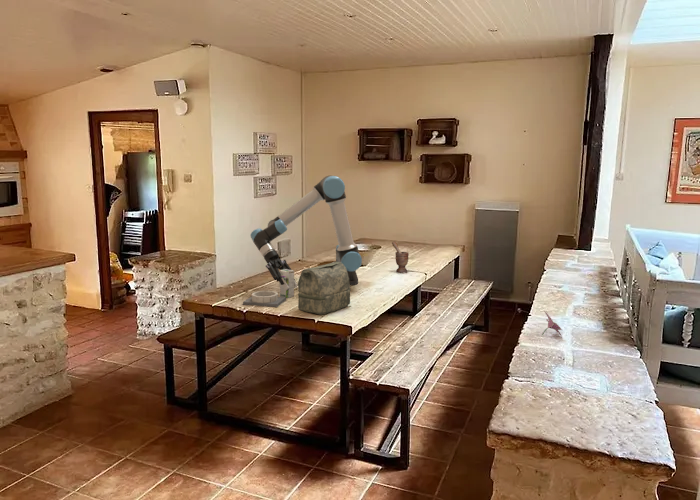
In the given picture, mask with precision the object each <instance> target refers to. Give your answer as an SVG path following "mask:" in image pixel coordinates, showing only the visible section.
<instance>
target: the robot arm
mask: <svg viewBox="0 0 700 500" xmlns="http://www.w3.org/2000/svg"><path fill="white" fill-rule="evenodd" d="M345 189H346V185H345V182H344V181H343V180H342V178H340V177H339V176H336V175H326V176H324V177H323V178H322V179H321V180H320V181H319V182H317V183H316V184H315V185H314V186H313V187H312V190H310V191H309V192H307V193H306V194H305V195H304V196H302V197H301V198H299V200H297V201H296V202H294V203H293V204H292V205H291V206H289V207H288V208H286V209H285V210H284V211H283V212H281V213H280V214H278V215H277V216H276V217H275V218H273V219H270V221H268V223H267V227H266V228H261V227H258V228H256V229H254V230H253V231H251V233H250V238H251V240H252V242H253V243H254V246H255V247H256V248H257V250H258V251H259V252H260V254H261V256H262V258H263V259H264V260H265V262H266V265H265V268H266V269H267V270H268V271H269V273H270V275H271V277H272V278H273V281H276V282H279V285H280V284H281V285H282V286H283V287H284V289H285V290H288V288H289V286H288V285H287V283H286V282H285V280H284V279H283V278H281V275H280V270H283V269H288V270H292V268H291V267H290V266H289V264H288V263H287V260H286V259H283V260H282V259H281V258H280V255H279V253H278V251H277V250H276V249H275V247H274V246H273V244H272V243H271V242H272V241H273V240H275V239H277V238H278V237H280V236H281V235H282V234H285V232H287V230H288V227H287V226H289V225H290V224H291V223H292V222H293V221H295V220H296V219H298V218H299V217H301V216H302V215H303V214H304V213H306V212H307V211H308V210H310V209H311V208H313V207H314V206H315V205H317V204H318V203H319V202H320V201H325V204H327V205H328V206H329V211H330V214H331V218H332V223H333V226H334V227H333V228H334V230H335V235H336V239H337V243H338V245H336V247H335V262H341V263H342V264H344V266H345V267H346V270H347V273H348V277H349V283H350V286H355V285H358V284H359V277H358V274H357V272H356V271H357V270H359V268H360V267H361V266H362V264H363V263H362V262H363V260H362V256H361V254H360V251H359V248H358V244H356V243H355V242H354V237H353V234H352V227H351V225H350V221H349V217H348V212H347V207H346V203H345V202H346V199H347V196H346V192H345V191H346V190H345ZM296 288H298V282H296V279H295V278H294V289H296Z"/></svg>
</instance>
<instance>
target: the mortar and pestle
mask: <svg viewBox="0 0 700 500" xmlns="http://www.w3.org/2000/svg"><path fill="white" fill-rule="evenodd" d="M391 244H392V246H393V248H394V249H395V251H396V252H395V253H394V254H395V264H396V265H397V267H398V268H396V271H395V272H396V273H399V274H407V273H408V269H407V268H406V266H407V265H408V262H409V257H410V255H409V253H410V252H407V251H401V250H400V248H399V246H398V244H397V241H395V240H394V241H392V242H391Z"/></svg>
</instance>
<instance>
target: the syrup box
mask: <svg viewBox="0 0 700 500" xmlns="http://www.w3.org/2000/svg"><path fill="white" fill-rule="evenodd" d="M279 272H280V275H281V278H283V279H284V280H285V282H286V283H287V285H288V286H289V288H288V290H285V289H284V287H283V286H282V285H281V284H280V283H279V297H286V299H290V298H294V296H295V288H294V279H295V270H294V269H291V270H288V269H283V270H280V269H279Z"/></svg>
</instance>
